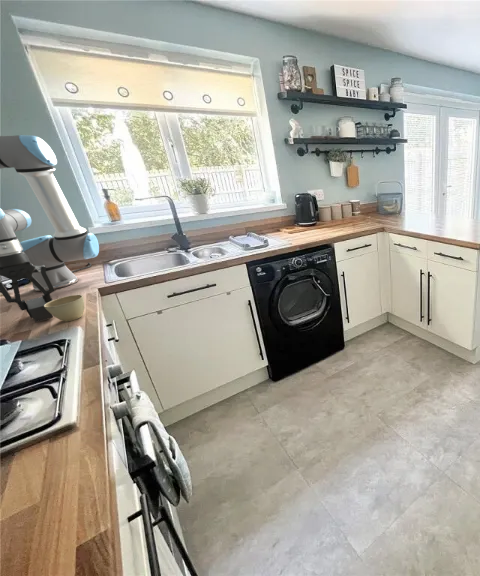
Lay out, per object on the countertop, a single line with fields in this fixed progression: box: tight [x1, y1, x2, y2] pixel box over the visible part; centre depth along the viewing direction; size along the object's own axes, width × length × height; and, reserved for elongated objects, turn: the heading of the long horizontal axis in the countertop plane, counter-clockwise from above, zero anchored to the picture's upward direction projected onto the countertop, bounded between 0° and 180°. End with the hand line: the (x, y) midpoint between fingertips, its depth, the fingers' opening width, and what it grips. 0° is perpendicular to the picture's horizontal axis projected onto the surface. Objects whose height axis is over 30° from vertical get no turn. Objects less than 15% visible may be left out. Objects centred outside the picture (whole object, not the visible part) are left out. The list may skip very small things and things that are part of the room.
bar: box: [25, 296, 54, 323], centre depth 113 cm, size 14×4×5 cm, turn 50°
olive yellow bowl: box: [44, 294, 85, 323], centre depth 110 cm, size 10×10×7 cm
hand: (42, 314), depth 114 cm, fingers closed on bar, 4 cm apart
